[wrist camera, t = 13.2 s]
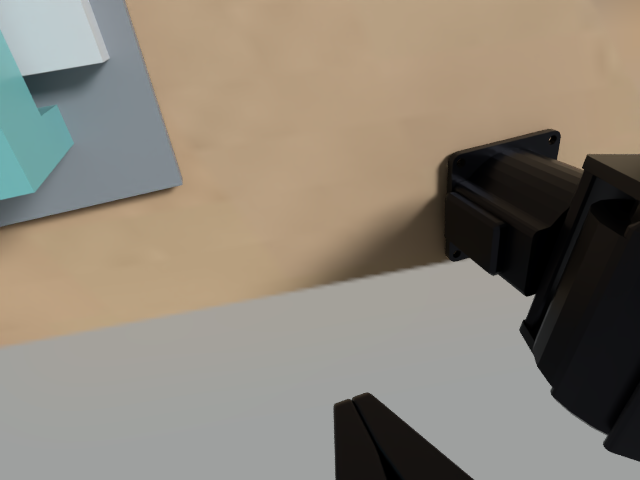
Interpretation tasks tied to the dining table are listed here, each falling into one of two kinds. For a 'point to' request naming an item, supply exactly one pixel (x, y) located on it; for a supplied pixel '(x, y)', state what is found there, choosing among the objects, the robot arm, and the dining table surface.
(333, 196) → the dining table surface
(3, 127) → the block
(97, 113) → the board
